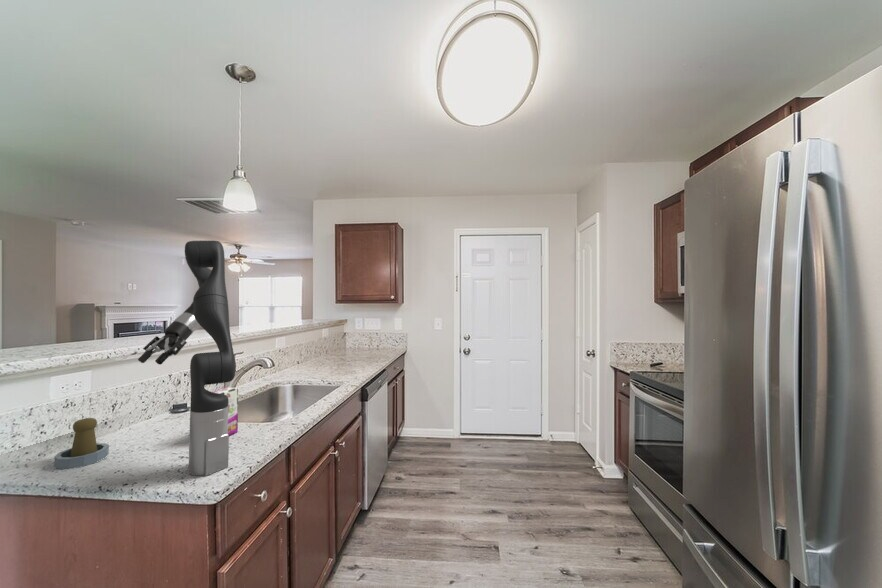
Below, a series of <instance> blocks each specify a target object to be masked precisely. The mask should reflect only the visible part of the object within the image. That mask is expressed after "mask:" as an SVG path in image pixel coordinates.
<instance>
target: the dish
mask: <svg viewBox="0 0 882 588" xmlns="http://www.w3.org/2000/svg"><path fill="white" fill-rule="evenodd" d="M96 443H97V450H98V451H96V452H94V453H90V454H87V455H83V456H77V457H70V455H71V450H72V447H69V448H67V449H65V450H62V451H60V452H58V453H56V455H54V458H53V460H54V462H53V467H54V468H55V467H56V469H57V470H70V469H69V468H71V469H75V468H74V467H76V468H81V467H80V466H82V467H85V465H86V466H89V465H92V464H96V463H98V462H100V461H102V460H104V459H106V458H107V457H108V456H109V454H110V453H109V450H110V449H109V444H107V443H105V442H104V443H103V442H100V443H99V442H96ZM107 455H108V456H107ZM106 456H107V457H106ZM105 457H106V458H105ZM103 458H104V459H103ZM101 459H102V460H101ZM99 460H100V461H99ZM97 461H98V462H97ZM95 462H96V463H95ZM88 464H89V465H88Z"/></svg>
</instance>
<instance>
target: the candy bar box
mask: <svg viewBox="0 0 882 588" xmlns="http://www.w3.org/2000/svg"><path fill="white" fill-rule="evenodd" d="M212 392H213V393H218V394H224V395H226V396H227V397H228V400H229V401H228V434H229V437H230V436H233V435H234V434H236V433H237V432H238V428H239V427H238V426H239V425H238V424H239V423H238V422H239V420H238V418H239V411H238V410H239V388H238V387H229V386H227V387H224V388H220V389H218V390H215V391H212Z"/></svg>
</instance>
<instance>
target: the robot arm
mask: <svg viewBox="0 0 882 588" xmlns="http://www.w3.org/2000/svg"><path fill="white" fill-rule="evenodd" d="M184 256H185V257H184V258H185V261H186V263H187V266H188V267H189V269H190V271H191V273H192V274H193V276H194V277H195V278H196V282H197V283H198V289H197V290H196V292H195V293H194V295H193V300H192V302H191V304H190V305H189V306H188V307H187V308H186V309H185V311H183V312H182V313H180V315H178V316H177V317H176V319H174V320H173V322H171V323H170V324H169V325H168V326H167V327H166V328H165V329H164V335H163V336H162V337H159V336H155V337H154V338H153V339H151V341H149V342H148V343H147V344H146V345H145V346H144V347H143V348H142V349H143V350H144V352H143V353H142V355H141V356H139V358H138V359H137V361H138V362H140V363H141V364H144V363H146V362H147V360H149V359H150V357H152V355H153V354H156V353H157V352H158V353H159V352H161V354H160V355H158V357H157V358H156V359H155V363H156V364H157V365H162V364H163V363H164V362H165V361H166V360H168V358H169V357H171V356H173V355H174V356H176V355H178V354H179V352H180V351H181V350H182V349H183V348H184V347H185V345H187V343H188V342H187V340H188V339H189V338H190V337H191V336H192V334H193V333H194V332H195V331H196V330H197V329H198V328H199V326H200V327H201V328H202V329H203V330H204V331H205V332H206V333H207V334H208V335H210V337H211V338H212V339H213V341H214V342H215V343H216V344H215V345H216V347H217V349H218V351H211V352H197V353H195V354H193V356H192V357H191V359H190V363H189V364H190V365H189V366H190V367H189V368H190V369H189V371H190V372H189V373H190V374H189V376H190V405H189V406H190V410H189V441H188V474H189V475H192V476H205V477H207V476H209V475H211V474H214V473H216V472H218V471H222V470H223V469H226V468H228V467H229V447H230V446H229V445H230V444H229V443H230V436H229V434H228V401H229V400H228V397H227V396H226V395H224V394H218V393H213V392H214V391H210V390H208V389H206V388H205V386H210V385H216V384H217V385H218V384H225V383H230V382H232V381H234V379H235V377H236V376H235V375H236V361H235V354H234V348H233V342H232V337H231V329H230V315H229V314H230V312H229V311H230V310H229V299H228V293H227V285H226V273H225V272H226V271H225V268H226V267H225V266H226V264H225V263H226V262H225V250H224V246H223V244H222V243H221V242H220V241H218V240H208V239H207V240H191V241H190V240H189V241H187V242H186V243H185V245H184ZM210 268H212V269H210ZM162 351H163V352H162Z"/></svg>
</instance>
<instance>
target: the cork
mask: <svg viewBox="0 0 882 588" xmlns="http://www.w3.org/2000/svg"><path fill="white" fill-rule="evenodd" d="M97 425H98V422H97V419H96V418H94V417H85V418H81V419H78V420H76V421H75V422H74V423H73V425H72V430H73V431H74V437H73V440H72V441H73V442H72V446H71V448H72V450H71V455H70V457H77V456H83V455H87V454H90V453H94V452H96V451H98V450H97V443H98V442H97V437H96V432H95V431H96V430H95V428H97Z"/></svg>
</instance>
